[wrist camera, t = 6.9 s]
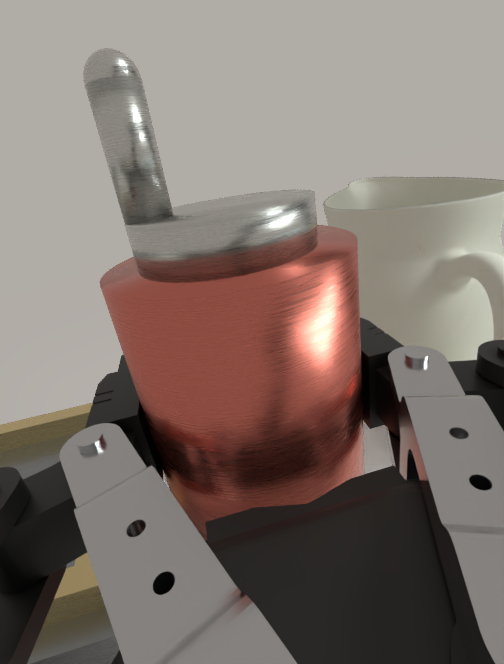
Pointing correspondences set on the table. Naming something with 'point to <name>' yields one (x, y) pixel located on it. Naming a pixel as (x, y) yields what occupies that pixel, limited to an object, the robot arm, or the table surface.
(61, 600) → the grey tray
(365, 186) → the pitcher
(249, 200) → the spout can
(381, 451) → the table surface
